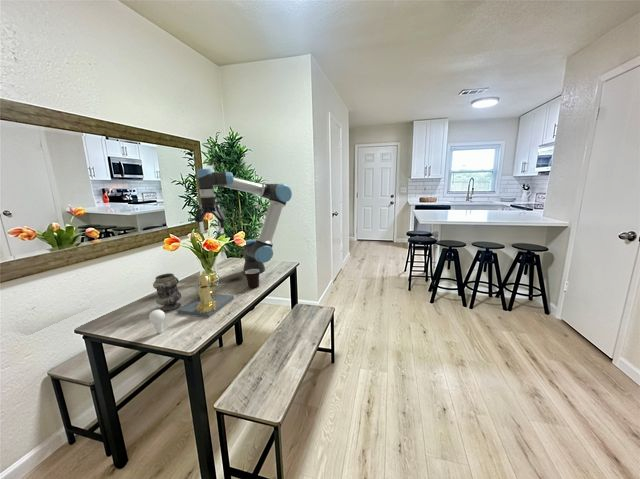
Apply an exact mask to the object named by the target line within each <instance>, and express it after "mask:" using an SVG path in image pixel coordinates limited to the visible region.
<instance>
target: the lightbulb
mask: <svg viewBox="0 0 640 479" xmlns="http://www.w3.org/2000/svg"><path fill="white" fill-rule="evenodd" d="M165 318H166V312H163V311H162V310H160V309H154V310H153V311H151V312H150V314H149V315H148V320H149V322H150V323H151V324H152V325H153V326H154V329H155V332H156V333H157V334H161V333H162V332H164V328H163V327H164V321H165Z"/></svg>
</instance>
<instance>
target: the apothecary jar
mask: <svg viewBox="0 0 640 479" xmlns="http://www.w3.org/2000/svg"><path fill="white" fill-rule="evenodd" d="M178 284H179V279H178V277H176V276H175V274H174V273H171V272H168V273H162V274H160V275H156V277H155V280H154V282H153V283H152V286H153V289H155V290H156V294H157V296H156V298H155V302H156V304H158V305H159V306H161V307H160V309H159V310H162V311H163V312H164V313H168V312H173V311H177V310H178V309H179V308H181V307H182V304H181V302H178V301H179V300H181V298H182V293H181V292H180V291H179V289H178Z"/></svg>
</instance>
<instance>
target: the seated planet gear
mask: <svg viewBox="0 0 640 479" xmlns="http://www.w3.org/2000/svg"><path fill="white" fill-rule="evenodd" d="M198 281H199V282H198V283H199V287H200V286H202V285H209V286H211V284H210V278H209V275H208V274H200V275H199V276H198ZM210 293H211V297H214V295H215V294H216V292H215V289H212V288H211V287H210ZM196 296H197V297H196V298H199V299H200V295H199V290H198V292H196Z"/></svg>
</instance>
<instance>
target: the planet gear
mask: <svg viewBox="0 0 640 479" xmlns="http://www.w3.org/2000/svg"><path fill="white" fill-rule="evenodd" d="M210 286H211V285H210ZM210 286H209V285H202V286H200V285H199V286H198V288H197V289H198V291H199V295H200V303H198V305H197V311H198V312H200V313H209V312H211V311H213V310H215V307H217V306H216V301H213V300H211V293H210V288H211V287H210Z"/></svg>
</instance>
